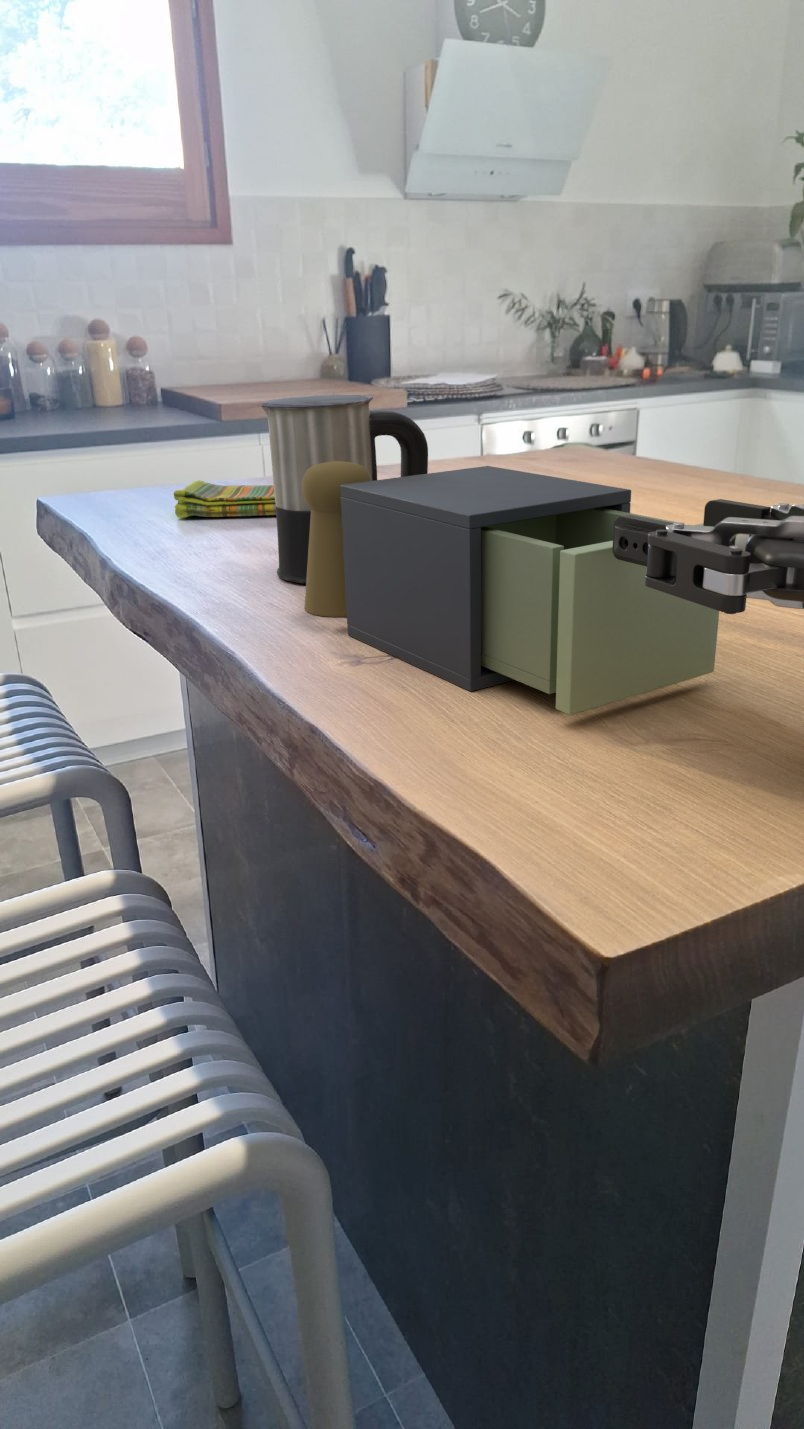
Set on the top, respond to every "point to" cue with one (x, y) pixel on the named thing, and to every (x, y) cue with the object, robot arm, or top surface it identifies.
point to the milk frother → (327, 457)
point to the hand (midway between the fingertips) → (664, 527)
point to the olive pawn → (327, 535)
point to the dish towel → (224, 500)
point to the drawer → (584, 613)
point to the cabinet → (440, 558)
